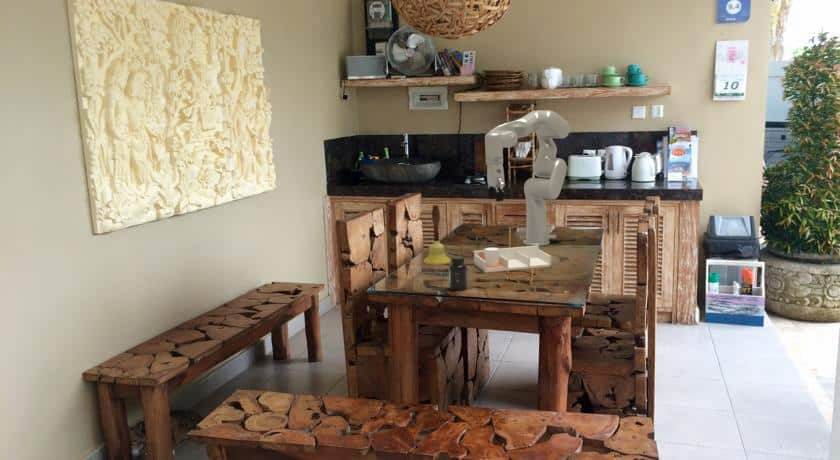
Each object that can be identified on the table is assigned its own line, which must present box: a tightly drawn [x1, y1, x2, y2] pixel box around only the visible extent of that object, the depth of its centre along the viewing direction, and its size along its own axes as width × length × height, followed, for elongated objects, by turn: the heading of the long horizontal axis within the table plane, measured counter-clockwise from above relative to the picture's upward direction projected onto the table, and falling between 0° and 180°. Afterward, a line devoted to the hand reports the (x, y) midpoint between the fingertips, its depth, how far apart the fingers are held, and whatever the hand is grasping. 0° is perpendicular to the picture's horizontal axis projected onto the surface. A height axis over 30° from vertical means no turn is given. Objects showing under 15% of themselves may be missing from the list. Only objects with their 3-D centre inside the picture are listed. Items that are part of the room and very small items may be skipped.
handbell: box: [423, 204, 452, 265], centre depth 313 cm, size 12×12×25 cm
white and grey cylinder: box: [483, 246, 501, 267], centre depth 299 cm, size 7×7×7 cm
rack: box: [473, 245, 552, 274], centre depth 302 cm, size 29×15×6 cm, turn 103°
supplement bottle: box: [448, 255, 468, 291], centre depth 270 cm, size 7×7×12 cm
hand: (495, 199), depth 317 cm, fingers open, 9 cm apart
